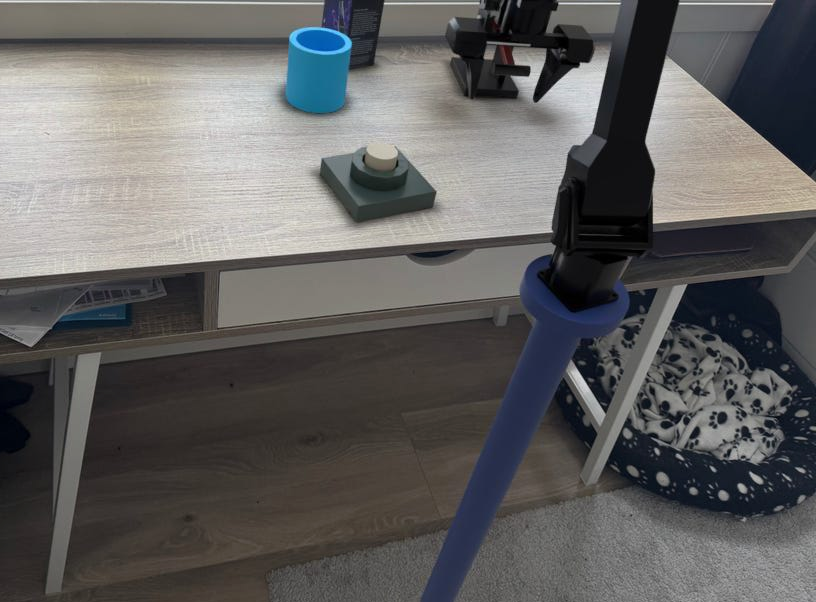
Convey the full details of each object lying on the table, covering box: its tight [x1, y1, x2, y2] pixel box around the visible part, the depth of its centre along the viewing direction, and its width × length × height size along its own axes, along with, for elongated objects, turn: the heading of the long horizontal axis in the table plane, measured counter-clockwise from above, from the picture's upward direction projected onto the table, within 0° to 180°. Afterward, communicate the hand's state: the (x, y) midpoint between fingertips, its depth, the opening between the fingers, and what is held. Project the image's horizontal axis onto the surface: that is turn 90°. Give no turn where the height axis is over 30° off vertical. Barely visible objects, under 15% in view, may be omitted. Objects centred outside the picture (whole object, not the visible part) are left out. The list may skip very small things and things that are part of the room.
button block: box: [319, 145, 437, 223], centre depth 85 cm, size 10×10×4 cm
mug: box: [285, 26, 352, 114], centre depth 99 cm, size 12×8×8 cm
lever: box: [491, 18, 532, 78], centre depth 101 cm, size 12×5×2 cm, turn 6°
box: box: [320, 0, 385, 69], centre depth 108 cm, size 8×6×11 cm
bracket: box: [449, 7, 520, 99], centre depth 106 cm, size 10×8×11 cm
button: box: [365, 141, 398, 172], centre depth 83 cm, size 4×4×2 cm
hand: (503, 99), depth 102 cm, fingers open, 9 cm apart
